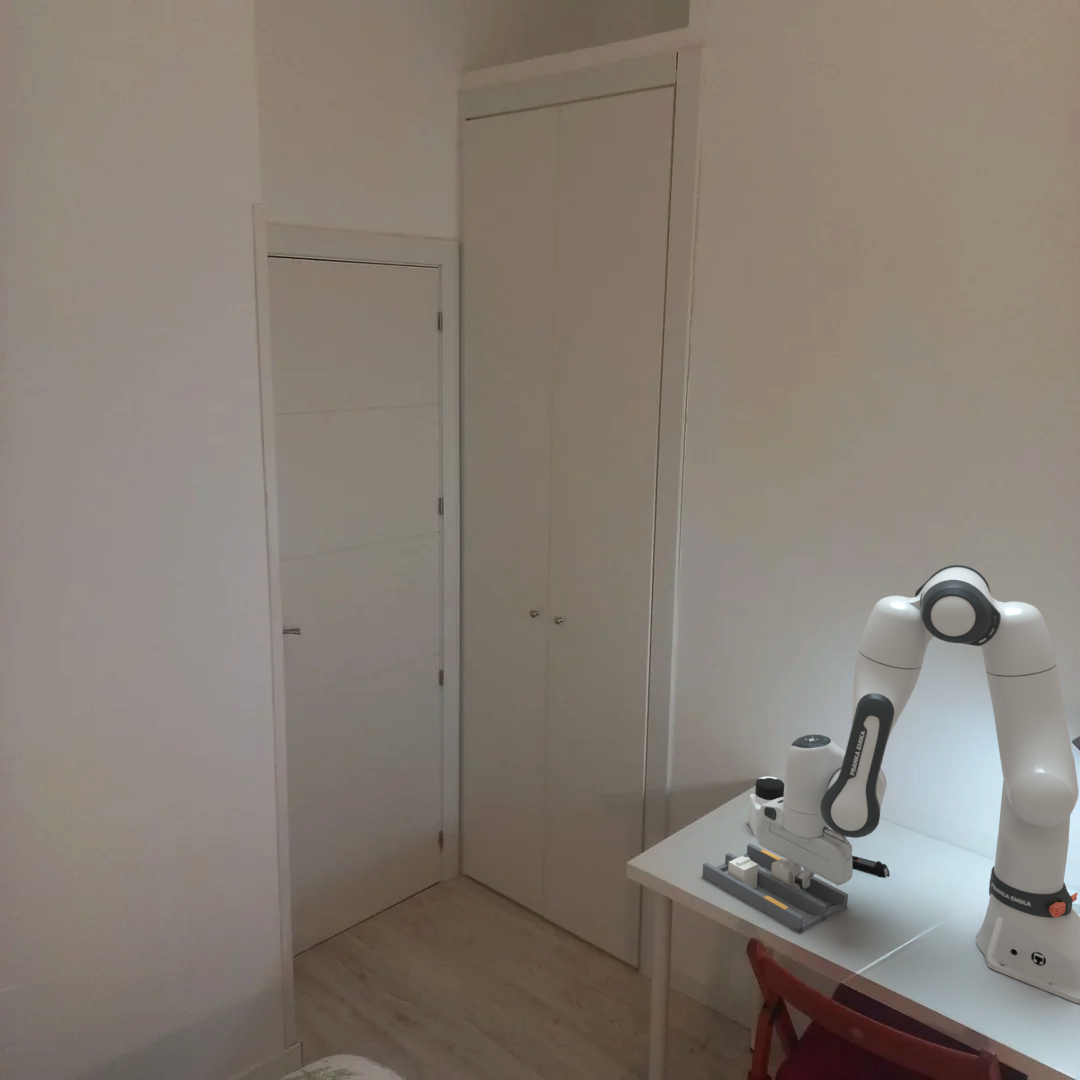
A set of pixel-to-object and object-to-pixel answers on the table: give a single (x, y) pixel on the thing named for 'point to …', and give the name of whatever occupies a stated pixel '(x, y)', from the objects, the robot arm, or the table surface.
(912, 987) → the table surface
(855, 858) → the electric trimmer
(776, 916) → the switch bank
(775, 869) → the white rectangular block
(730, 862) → the white boxy block
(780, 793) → the medicine bottle
